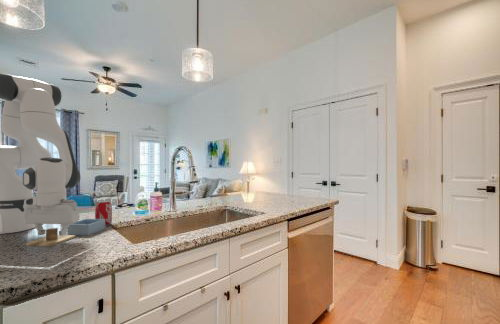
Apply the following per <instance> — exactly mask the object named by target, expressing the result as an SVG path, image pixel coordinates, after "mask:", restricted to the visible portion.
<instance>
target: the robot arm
mask: <svg viewBox="0 0 500 324" xmlns="http://www.w3.org/2000/svg"><path fill="white" fill-rule="evenodd" d="M0 99H1V100H4V103H3V107H2V116H1V128H0V129H1V132H2V133H3V134H4V135H5V136H6V137H7V138H10V139H12V140H15V141H17V143H18V144H17V145H0V235H3V234H11V233H18V232H23V231H28V230H32V229H36V232H37V235H38V236H43V235H46V230H47V229H44V227H43V225H60V227H61V229H60V230H59V231H58V235H60V236H64V235H67V231H68V227H69V224H74V223H77V222H78V221H80V215H79V214H80V213H79V207H78V204H77V202H76V201H75V200H74V199H73V198H72V199H67V190H69V189H70V190H71V189H73V188H74V187H76V186H77V185H78V184H80V182H81V173H80V170H79V168H78V166H77V164H76V163H77V162H76V159H75V155H74V152H73V147H72V145H71V140H70V138H69V135H68V133H67V131H66V130H64V129H63V128H62V127H61V126H60V124H59V123H58V122H59V121H58V119H57V112H56V106H58V105H60V103H61V101H62V91H61V89H60V87H59V86H57V85H54V84H53V83H50V82H49V83H47V82H45V81H41V80H38V79H34V78H28V77H23V76H17V75H12V74H9V73H0ZM38 139H41V140H43V141H45V142H49V143H51V144H52V145H54V146H55V148H57V152H58V155H59V158H57V157H52V154H51V152H50V151H49V150H48V149H47V148H45V147H44V146H42V144H41V143H40V142H39V140H38ZM16 170H24V171H23V173H22V176H21V175H18V174H17V171H16ZM33 191H36V193H35V194H36V195H33Z"/></svg>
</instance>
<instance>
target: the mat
mask: <svg viewBox="0 0 500 324" xmlns="http://www.w3.org/2000/svg"><path fill="white" fill-rule="evenodd" d="M75 238H77V236H76V237H75ZM75 238H72V239H70V240H73V239H75ZM70 240H67V241H70ZM67 241H64V242H67ZM64 242H62V243H59V244H56V245H54V246H57V245H60V244H63V243H64ZM54 246H39V247H42V248H43V247H44V248H45V247H47V248H53V247H54ZM24 247H27V246H26V244H25V245H24Z"/></svg>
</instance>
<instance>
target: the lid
mask: <svg viewBox="0 0 500 324" xmlns="http://www.w3.org/2000/svg"><path fill="white" fill-rule="evenodd" d="M45 230H46V231H45V232H46V233H45V236H44V237H41V238H37V239H35V240H32V241H28V242H26V243H25V245H26V246H25V247H40V246H52V247H54V245H55V246H57V245H56V244H58V245H60V244H63V243H64V241H65V242H67V240H68V241H70V239H71V240H73V239H75V237H76V238H77V235H68V234H66V235H64V236H60V235H59V231H58V227H51V228H47V229H45ZM72 238H73V239H72ZM62 242H63V243H62ZM59 243H60V244H59Z"/></svg>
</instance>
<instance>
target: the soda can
mask: <svg viewBox="0 0 500 324" xmlns="http://www.w3.org/2000/svg"><path fill="white" fill-rule="evenodd" d="M112 206H113V205H112V202H111V200H107V199H105V200H104V199H103V200H97V201H96V203H95V205H94V219H105V227H108V226H110V225H111V224H112V223H113V214H112V213H113V207H112Z"/></svg>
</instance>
